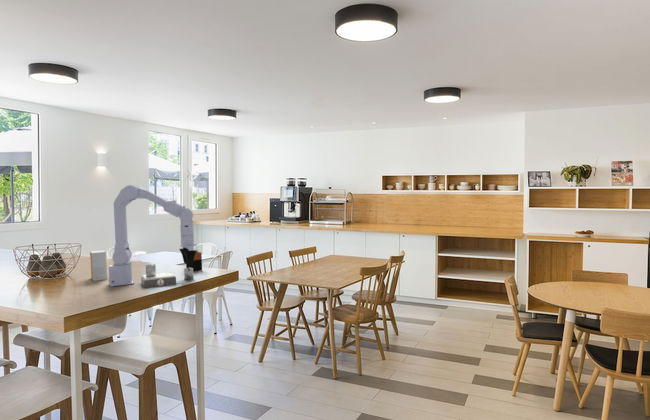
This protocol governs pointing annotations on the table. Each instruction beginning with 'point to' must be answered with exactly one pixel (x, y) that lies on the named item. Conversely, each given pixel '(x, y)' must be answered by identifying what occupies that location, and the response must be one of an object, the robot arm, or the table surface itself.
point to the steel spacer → (188, 273)
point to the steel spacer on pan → (150, 270)
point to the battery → (196, 262)
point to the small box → (98, 265)
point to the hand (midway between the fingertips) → (188, 264)
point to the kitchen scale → (158, 280)
